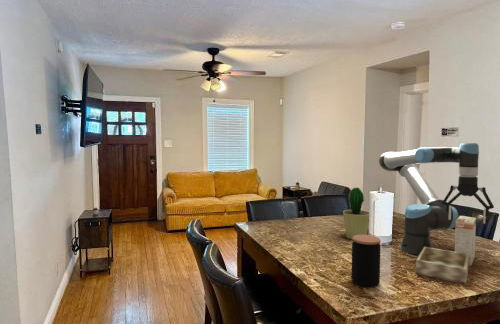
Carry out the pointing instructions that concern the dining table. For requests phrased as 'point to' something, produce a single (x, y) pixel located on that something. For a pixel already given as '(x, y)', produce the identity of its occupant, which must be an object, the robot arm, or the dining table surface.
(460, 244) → the coffeecake box
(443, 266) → the crate
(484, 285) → the dining table surface
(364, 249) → the coffee jar
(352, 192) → the potted cactus
